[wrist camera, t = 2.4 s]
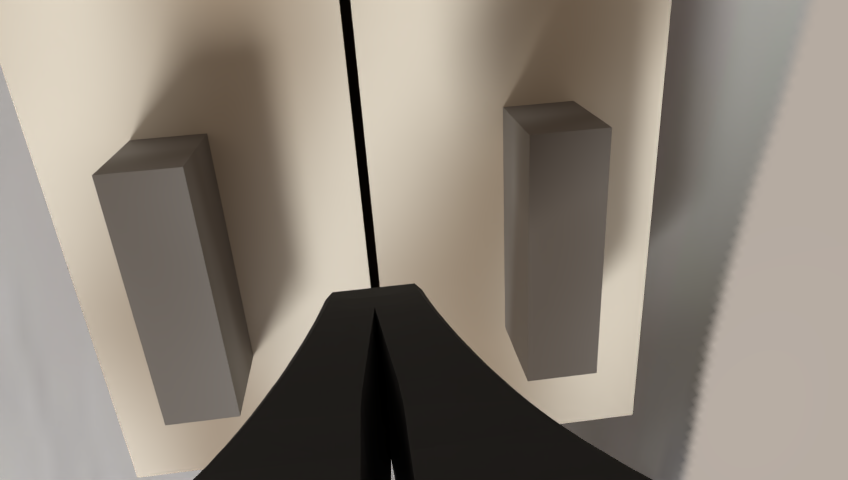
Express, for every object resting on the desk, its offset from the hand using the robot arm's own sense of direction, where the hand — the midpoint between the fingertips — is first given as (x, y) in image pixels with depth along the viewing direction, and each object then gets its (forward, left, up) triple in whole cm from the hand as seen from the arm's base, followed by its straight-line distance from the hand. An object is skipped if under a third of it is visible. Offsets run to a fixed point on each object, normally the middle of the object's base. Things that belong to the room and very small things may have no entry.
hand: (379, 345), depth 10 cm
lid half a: (+2, +2, -5) cm, 5 cm away
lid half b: (-2, -2, -5) cm, 5 cm away
